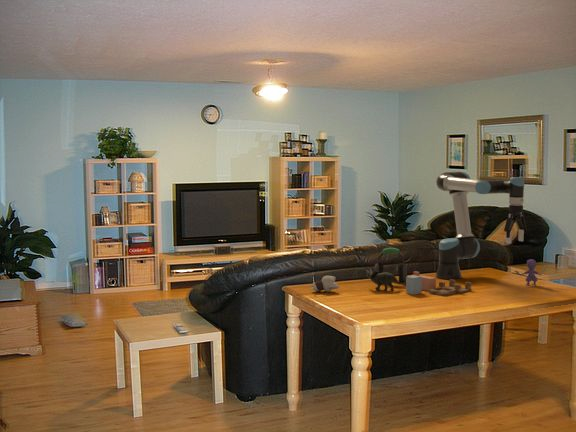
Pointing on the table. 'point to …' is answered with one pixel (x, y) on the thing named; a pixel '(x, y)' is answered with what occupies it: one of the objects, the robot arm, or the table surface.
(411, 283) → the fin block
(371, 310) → the table surface
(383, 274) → the dinosaur figurine
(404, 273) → the headphones
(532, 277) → the toy
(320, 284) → the toy
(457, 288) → the jig
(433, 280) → the pink slab with ridge
